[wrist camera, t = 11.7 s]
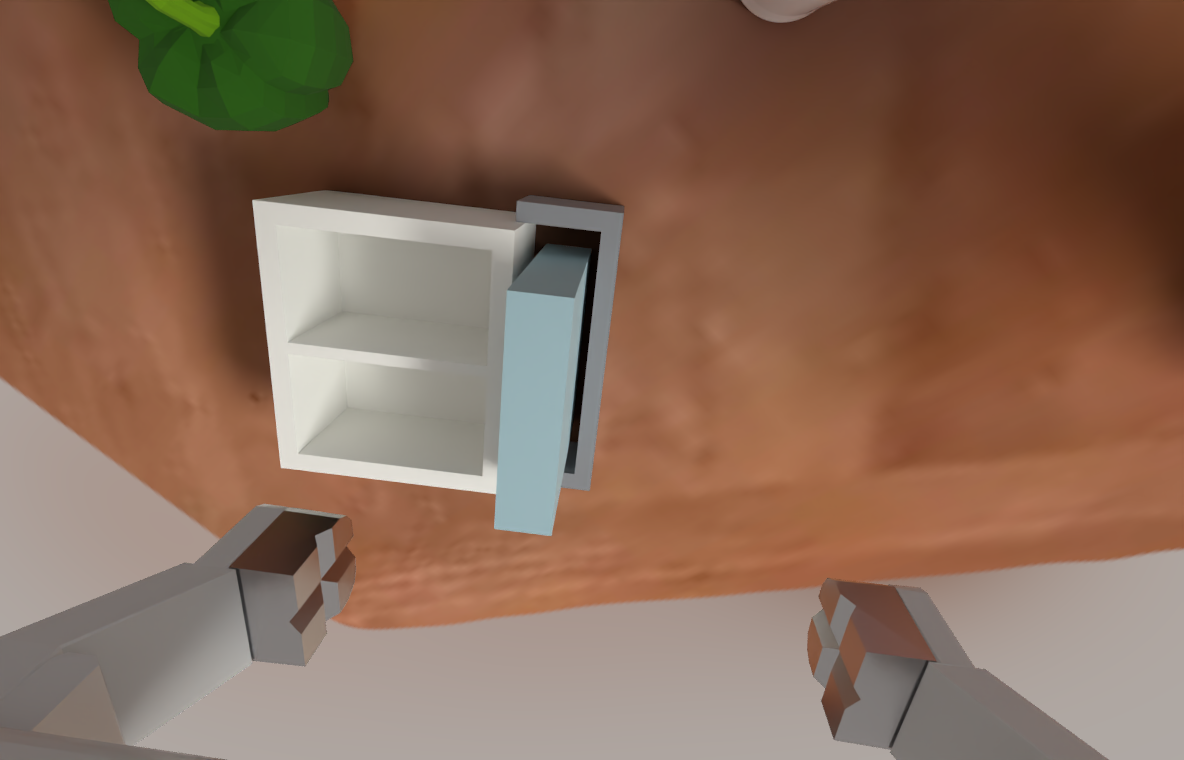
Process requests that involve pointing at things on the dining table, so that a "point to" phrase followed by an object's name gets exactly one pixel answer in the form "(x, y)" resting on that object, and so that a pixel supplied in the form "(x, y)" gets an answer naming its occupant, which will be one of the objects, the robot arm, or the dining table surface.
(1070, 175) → the dining table surface
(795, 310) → the dining table surface
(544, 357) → the door
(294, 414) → the cabinet
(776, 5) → the drinking glass
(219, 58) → the bell pepper
